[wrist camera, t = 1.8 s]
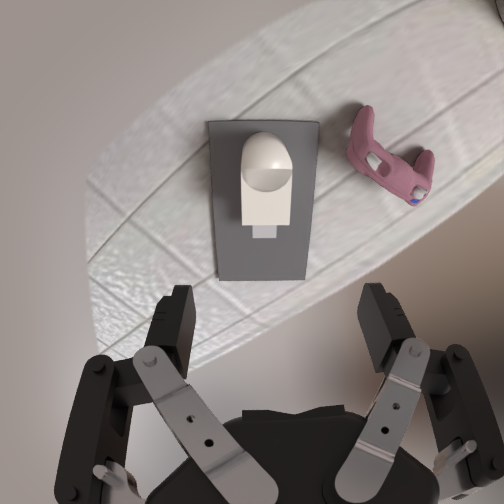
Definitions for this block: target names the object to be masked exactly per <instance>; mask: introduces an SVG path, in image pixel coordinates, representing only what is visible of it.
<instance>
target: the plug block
mask: <svg viewBox="0 0 504 504" xmlns="http://www.w3.org/2000/svg"><path fill="white" fill-rule="evenodd" d="M291 189H292V161H291V159H290V156H289V154H288V152H287V150H286V147H285V145H284V143H283V141H282V140H281V139H280V138H279V137H278V136H277V135H275V134H273V133H270V132H258V133H255V134H253V135H251V136H250V137H249V138H248V139H247V140H246V142H245V143H244V146H243V150H242V161H241V200H242V225H253V238H276V231H277V225H289V224H290V207H291Z"/></svg>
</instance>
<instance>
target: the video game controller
mask: <svg viewBox="0 0 504 504" xmlns="http://www.w3.org/2000/svg"><path fill="white" fill-rule="evenodd" d="M373 125H374V111H373V108H372V107H371V106H368V105H366V106H364V107H362V108H361V109H360V110H359V112H358V113H357V115H356V117H355V120H354V122H353V125H352V129H351V134H350V141H349V147H348V148H347V149H346V156H347V158H348V160H349V162H350V163H351V164H352V165H353V167H354V168H355V169H356V170H358V171H359V172H360V173H362V174H364V175H366V176H370V177H371V178H372V179H373V180H375V181H376V182H377V183H378V184H380V185H381V186H382V187H384V188H385V189H387V190H388V191H389V192H391V193H393V194H394V195H396V196H398V197H400V198H402V199H404V200H405V201H406V202H407V203H408V204H409V205H411V206H417V205H418V204H419V203H420V202H421V201H423V200H424V199H425V198H426V196H427V195H428V193H429V192H430V189H431V184H432V176H433V170H434V163H435V159H434V155H433V153H432V152H431V151H430V150H425V151H423V152H422V153H421V154H420V155H419V156H418V158H417V159H416V162H415V164H414V167H413V169H412V168H411V167H410V165H409V164H408V163H406V162H405V161H404V160H402V159H401V158H400V157H399V156H397V155H391V154H390V153H388V152H387V151H386V150H384V148H383V147H382V146H381V145H380V144H379V143H378V142H377V141H375V140H374V139H373Z"/></svg>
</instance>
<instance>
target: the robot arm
mask: <svg viewBox="0 0 504 504" xmlns="http://www.w3.org/2000/svg"><path fill="white" fill-rule="evenodd" d="M496 4H497V8H498V11H499V14H500V16H501V18H502V20H503V22H504V0H496ZM357 314H358V320H359V323H360V326H361V329H362V332H363V334H364V338H365V341H366V344H367V347H368V350H369V353H370V356H371V359H372V362H373V366H374V369H375V372H376V373H379V372H384V374H385V378H384V379H383V382H382V384H381V386H380V388H379V390H378V392H377V394H376V396H375V398H374V400H373V402H372V404H371V406H370V407H369V409H368V411H367V413H366V414H365V416H364V417H362V416H360V415H358V414H355V413H352V412H348V411H345V409H344V405H336V406H325V407H318V408H315V409H312V410H309V411H306V412H303V413H299V414H287V413H282V412H276V411H270V410H242V417H238V418H235V419H232V420H230V421H228V422H225V423H224V424H221V423H220V422H219V421H218V419H217V418H216V417H215V416H214V414H213V413H212V412H211V410H210V409H209V408H208V407H207V405H206V404H205V403H204V402H203V400H202V399H201V398H200V396H199V395H198V394H197V393H196V391H195V390H194V388H193V387H192V386H191V385H190V384H189V385H188V384H187V383H186V382H185V381H184V379H186V378H187V371H188V365H189V359H190V353H191V346H192V340H193V334H194V329H195V323H196V309H195V303H194V297H193V291H192V286H191V285H175V286H174V289H173V292H172V295H171V296H163V298H162V299H161V300H160V301H159V302H158V303H157V306H156V309H155V312H154V315H153V318H152V321H151V325H150V328H149V331H148V335H147V338H146V341H145V345H144V347H143V348H141V349H139V350H138V351H137V352H136V353H135V355H134V357H132V358H129V359H125V360H119V361H114V362H113V360H112V359H111V358H110V357H109V356H107V355H96V356H94V357H92V358H90V359H89V360H88V361H87V362H86V364H85V366H84V369H83V372H82V375H81V379H80V382H79V385H78V389H77V392H76V395H75V399H74V403H73V406H72V410H71V413H70V417H69V421H68V425H67V429H66V433H65V438H64V441H63V446H62V450H61V455H60V460H59V465H58V470H57V475H56V481H55V486H54V495H55V498H56V500H57V502H58V503H59V504H438V502H441V501H444V500H447V499H450V498H452V499H454V500H458V499H462V498H464V497H466V496H468V495H470V494H472V493H474V492H476V491H478V490H480V489H482V488H483V487H486V486H487V485H489V484H491V483H493V482H494V481H496V480H498V479H500V478H501V477H503V476H504V443H503V440H502V437H501V433H500V430H499V427H498V424H497V421H496V418H495V415H494V413H493V410H492V407H491V404H490V401H489V399H488V396H487V394H486V391H485V389H484V386H483V383H482V381H481V379H480V376H479V374H478V372H477V369H476V367H475V365H474V362H473V360H472V358H471V356H470V353H469V352H468V351H467V349H466V348H464V347H463V346H461V345H458V344H453V345H450V346H448V348H447V349H446V351H439V350H432V349H429V347H428V345H427V344H426V343H425V342H424V341H422V340H421V339H418V338H416V336H415V334H414V333H413V330H412V328H411V326H410V324H409V322H408V320H407V317H406V316H405V313H404V311H403V309H402V308H401V305H400V303H399V301H398V300H397V298H395V297H394V296H393V295H392V294H391V293H386V292H385V289H384V287H383V285H382V284H381V283H365V285H364V287H363V291H362V294H361V298H360V301H359V305H358V310H357ZM420 393H423V395H424V398H425V401H426V405H427V409H428V412H429V416H430V419H431V423H432V427H433V431H434V435H435V439H436V443H437V448H438V452H439V453H438V454H437V456H436V457H435V460H434V467H433V472H432V471H431V470H429V469H428V468H427V467H426V466H424V465H423V464H422V463H420V462H419V461H418V460H417V459H415V458H414V457H413V456H412V455H410V454H409V453H408V452H407V451H405V450H404V449H403V448H402V447H400V446H399V445H400V443H401V441H402V439H403V436H404V434H405V432H406V430H407V427H408V425H409V422H410V420H411V417H412V415H413V412H414V410H415V407H416V404H417V402H418V399H419V396H420ZM151 402H153V403H154V405H155V407H156V408H157V410H158V411H159V413H160V415H161V416H162V418H163V419H164V421H165V423H166V424H167V426H168V427H169V429H170V430H171V432H172V433H173V435H174V437H175V438H176V440H177V441H178V443H179V444H180V446H181V447H182V448H183V450H184V451H185V453H186V454H187V456H188V458H187V459H186V460H185V461H184V462H183V463H182V464H181V465H180V466H179V467H178V468H177V469H176V470H175V471H174V472H173V473H171V474H170V475H169V476H168V477H167V478H166V479H165V480H164V481H163V482H162V483H161V484H160V485H159V486H158V487H156V488H155V489H154V490H153V491H152V492H151V493H150V495H149V496H148V498H147V499H146V500H144V499H142V498H141V496H140V495H139V493H138V490H137V483H136V480H135V478H134V476H133V475H132V474H131V473H129V472H128V471H126V470H125V460H126V453H127V452H126V451H127V445H128V438H129V431H130V424H131V418H132V412H133V406H135V405H140V404H145V403H151Z"/></svg>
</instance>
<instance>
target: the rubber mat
mask: <svg viewBox="0 0 504 504" xmlns="http://www.w3.org/2000/svg"><path fill="white" fill-rule="evenodd" d="M258 132H270V133H273V134H275V135H277V136H278V137H279V138H280V139H281V140H282V141H283V143H284V145H285V147H286V150H287V152H288V154H289V156H290V159H291V161H292V189H291V207H290V224H289V225H277V231H276V238H253V225H242V200H241V161H242V150H243V146H244V143H245V142H246V140H247V139H248V138H249V137H250V136H251V135H253V134H255V133H258ZM318 135H319V122H308V121H282V120H232V121H209V143H210V162H211V180H212V195H213V210H214V224H215V238H216V250H217V263H218V274H219V281H279V280H305V275H306V267H307V258H308V250H309V241H310V231H311V222H312V211H313V201H314V189H315V177H316V164H317V150H318Z"/></svg>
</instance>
